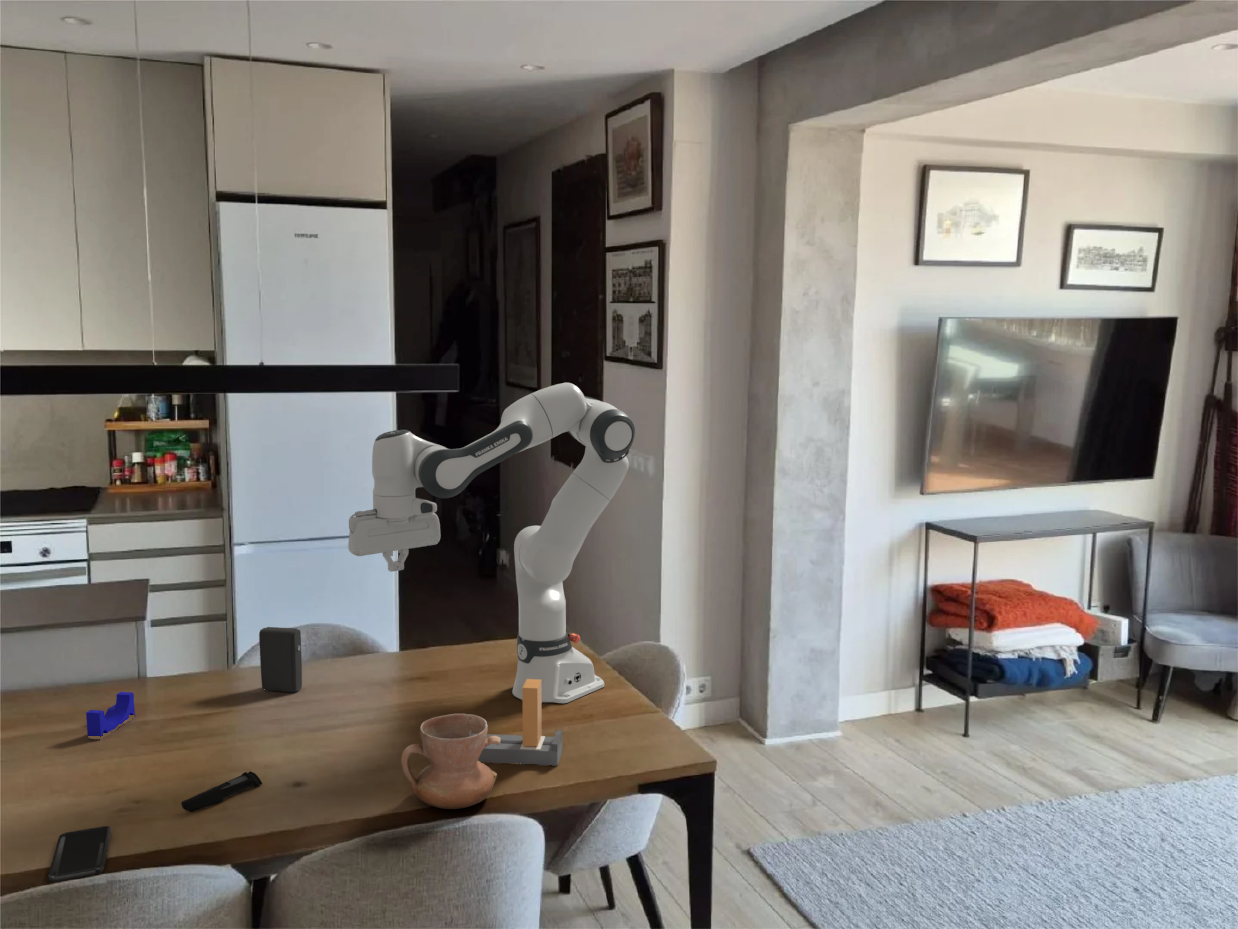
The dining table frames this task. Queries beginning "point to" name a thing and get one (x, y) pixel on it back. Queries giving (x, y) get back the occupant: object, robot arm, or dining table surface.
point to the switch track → (523, 750)
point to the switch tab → (532, 712)
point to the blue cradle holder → (110, 715)
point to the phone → (80, 853)
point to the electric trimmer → (221, 792)
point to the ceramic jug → (452, 762)
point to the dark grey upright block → (280, 659)
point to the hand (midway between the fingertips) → (396, 570)
